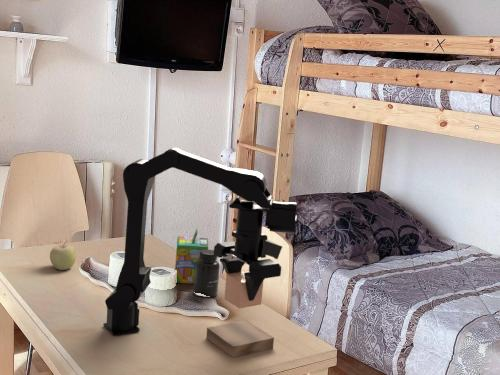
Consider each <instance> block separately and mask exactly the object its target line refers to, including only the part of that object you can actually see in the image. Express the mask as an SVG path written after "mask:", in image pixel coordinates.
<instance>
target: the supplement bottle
mask: <svg viewBox="0 0 500 375" xmlns="http://www.w3.org/2000/svg"><path fill="white" fill-rule="evenodd" d="M199 258H200V259H199V260H198V261H197V262H196V263H195V272H194V284H192V285H193V286H192V293H193V292H195V293H201V294H204V295H206V296H210V298H214V297H216V296H217V295H218V292H219V281H220V269H221V264H220V261H217V260H218V257H217V256H215V255H214V249H208V250H201V251H200V255H199Z"/></svg>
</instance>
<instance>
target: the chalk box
mask: <svg viewBox="0 0 500 375" xmlns="http://www.w3.org/2000/svg"><path fill="white" fill-rule="evenodd" d="M198 233H199V232H198V228H196V229H195V231H194V233H193V236H192V237H191V236H177V241H176V252H175V253H176V254H175V263H174V264H175V265H174V271H175V270H177V282H178V283H177V284H186V285H187V284H188V285H189V284H190V285H193V284H194V272H195V263H196V262H197V261H198V260H199V259H200V258H199V255H200V251H201V250H209V239H208V238H207V237H197V236H198Z"/></svg>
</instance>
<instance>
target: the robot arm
mask: <svg viewBox="0 0 500 375" xmlns="http://www.w3.org/2000/svg"><path fill="white" fill-rule="evenodd" d="M173 168H174V169H177V170H179V171H182V172H185V173H188V174H190V175H193V176H196V177H199V178H201V179H204V180H207V181H210V182H212V183H215V184H218V185H221V186H223V187H225V188H226V189H227V190H229V191H230V192H231V193H233V194H235V195H236V198H235V199H234V200H231V202H230V204H229V205H228V207H229V208H230V209H235V210H237V213H236V224H235V225H236V226H235V227H236V228H235V230H232V231H231V237H234V241H232V240H231V241H223V242H221V241H220V242H217V243H216V244H215V245H214V247H213V250H214V255H215V256H217V258H219V263H221V265H222V267H223V269H224V271H225V273H226V274H230V273H237V272H242V268H243V267H244V266H245V264H246V265H248V271H249V272H247V273H244V276H245V282H246V288H247V294H248V299H249V301H252V300H254V298H255V296H256V294H257V292H258V290H259V287H260V285H261V284H262V282H263V283H264V280H265V279H270V278H277V277H278V278H279V277H281V274H282V266H281V265H280V263H278V262H277V261H274V260H273V259H275V260H278V259H279V257H280V254H281V252H282V249H283V246H282V245H280V244H278V243H276V242H274V241H271V240H269V239H268V235H267V234H264V233H263V222H264V226H265V227H267V229H269V232H275V233H282V234H283V233H284V234H294V235H295V234H296V225H297V208H298V207H297V206H298V203H297V202H296V201H295V202H293V201H289V202H286V201H285V202H284V201H275V200H274V197H273V195H272V194H271V193H270V191H269V189H268V188H267V185H268V184H267V180H266V177H265V176H264V174H263V173H261V172H259V171H256V170H251V169H246V168H237V167H235V168H234V167H230V166H227V165H223V164H221V163H217V162H215V161H212V160H209V159H207V158H203V157H201V156H198V155H195V154H193V153H190V152H187V151H185V150H182V149H180V148H178V147H171V148H169V149H168V150H166V151H164V152H163V153H161V154H159V155H156V156H154V157H151V158H150V159H145V158H140V159H138V160H135V161H133V162H131V163H130V164H128V165H127V166H126V167H125V168H124V170H123V173H122V182H123V190H124V194H125V197H126V200H127V209H126V210H127V211H126V214H127V215H126V226H125V227H126V229H125V240H124V241H125V243H124V255H123V256H124V260H123V265H122V266H121V269H120V272H119V275H118V279H117V283H116V287H115V289H113V291H112V292H111V293H110V294H109V296H108V297H107V298H105V299H104V302H105V305H106V322H104V323H103V327H104V328H105V329H106V330H108V331H109V333H110V334H111V335H113V336H116V337H117V336H121V335H127V334H132V333H137V332H140V331H141V330H140V329H141V328H140V327H139V324H140V308H138V307H139V304H138V303H137V301H138V300H139V299H140V297H141V296H142V295H143V294H144V292H146V290H147V288H148V287H149V286H150V284H151V283H152V282H151V277H150V276H151V271H152V267H151V266H146V264H145V261H144V260H145V259H144V257H145V256H144V255H145V240H146V226H147V214H148V213H147V212H148V200H149V198H150V195H151V192H152V189H153V186H154V182H155V178H156V176H157V175H160V174H162V173H164V172H166V171H168V170H169V169H173ZM264 212H265V220H264ZM263 220H264V221H263ZM267 256H268V257H272V258H273V259H270V258H267ZM259 258H261V259H259ZM264 258H265V259H264Z"/></svg>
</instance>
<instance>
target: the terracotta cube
mask: <svg viewBox="0 0 500 375" xmlns="http://www.w3.org/2000/svg"><path fill="white" fill-rule="evenodd" d="M247 272H249V270H244V271H241V272H237V273H230V274H226V275H225V276H226V277H225V287H224V288H225V289H224V297H223V298H224V301H227V302H229V303H230V304H231V305H233V306H235V308H238V309H244V308H249V307H255V306H261V305H262V299H263V288H264V281H263V282H262V284H261V285H260V287H259V290H258V292H257V294H256V296H255V298H254V300H252V301H249V299H248V294H247V288H246V282H245V276H244V273H247Z"/></svg>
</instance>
